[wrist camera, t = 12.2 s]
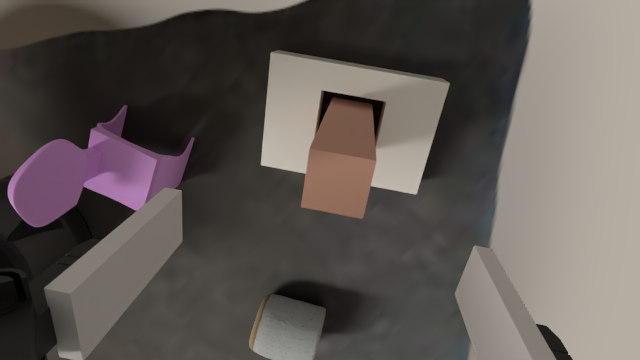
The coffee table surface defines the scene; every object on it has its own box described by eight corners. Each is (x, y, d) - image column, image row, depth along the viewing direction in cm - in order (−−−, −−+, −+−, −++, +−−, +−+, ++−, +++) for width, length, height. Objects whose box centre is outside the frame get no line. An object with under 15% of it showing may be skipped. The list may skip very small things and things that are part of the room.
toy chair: (182, 191, 42) (93, 272, 28) (112, 159, 41) (-12, 226, 28) (201, 131, 39) (112, 190, 25) (126, 95, 38) (-8, 135, 24)
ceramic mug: (268, 279, 46) (250, 326, 39) (329, 295, 46) (322, 345, 39) (256, 334, 50) (239, 385, 44) (312, 349, 50) (303, 402, 43)
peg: (326, 134, 37) (300, 206, 22) (332, 97, 35) (309, 148, 21) (364, 141, 37) (362, 218, 22) (372, 104, 35) (376, 160, 21)
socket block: (268, 155, 39) (260, 165, 36) (278, 50, 34) (270, 52, 31) (412, 182, 38) (416, 194, 35) (443, 78, 33) (449, 83, 31)
